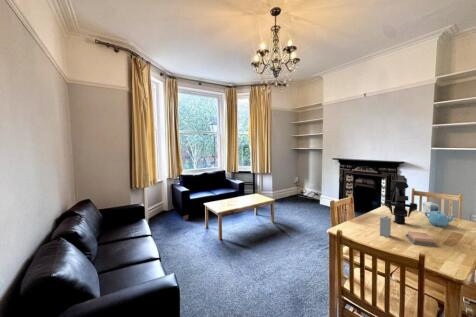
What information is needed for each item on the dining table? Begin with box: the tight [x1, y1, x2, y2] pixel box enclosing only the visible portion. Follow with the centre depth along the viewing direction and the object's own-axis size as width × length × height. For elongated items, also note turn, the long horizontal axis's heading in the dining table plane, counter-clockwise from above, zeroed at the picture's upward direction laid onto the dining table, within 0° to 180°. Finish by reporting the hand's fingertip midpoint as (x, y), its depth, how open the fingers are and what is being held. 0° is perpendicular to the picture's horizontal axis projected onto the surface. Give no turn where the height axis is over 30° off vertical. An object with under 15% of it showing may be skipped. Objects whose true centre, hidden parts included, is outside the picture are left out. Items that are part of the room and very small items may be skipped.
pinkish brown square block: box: [404, 231, 437, 248], centre depth 140 cm, size 12×12×4 cm
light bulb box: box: [421, 201, 440, 217], centre depth 186 cm, size 11×7×11 cm, turn 168°
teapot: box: [424, 210, 456, 228], centre depth 165 cm, size 13×14×11 cm
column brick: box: [379, 215, 392, 238], centre depth 150 cm, size 5×5×14 cm
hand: (400, 215), depth 149 cm, fingers open, 9 cm apart
